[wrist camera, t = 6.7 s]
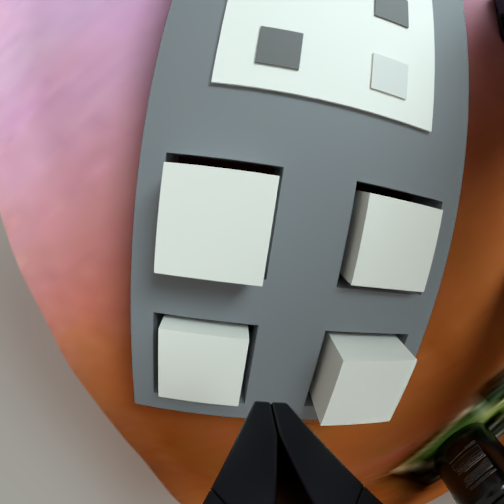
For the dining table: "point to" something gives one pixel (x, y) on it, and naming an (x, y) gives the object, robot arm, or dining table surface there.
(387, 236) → the button
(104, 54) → the dining table surface
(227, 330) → the button
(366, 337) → the button
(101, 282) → the dining table surface
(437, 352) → the dining table surface
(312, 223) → the button board
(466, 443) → the supplement bottle
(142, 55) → the dining table surface
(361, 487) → the robot arm
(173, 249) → the button
